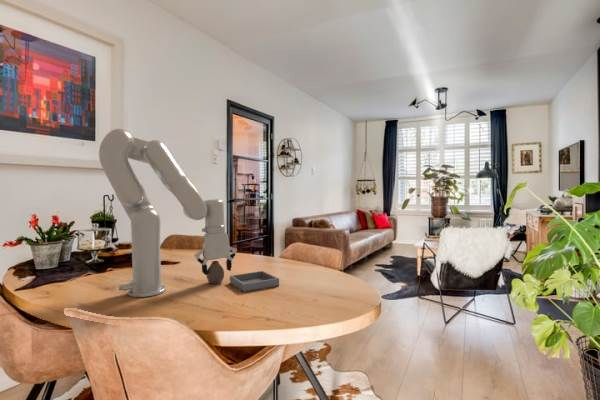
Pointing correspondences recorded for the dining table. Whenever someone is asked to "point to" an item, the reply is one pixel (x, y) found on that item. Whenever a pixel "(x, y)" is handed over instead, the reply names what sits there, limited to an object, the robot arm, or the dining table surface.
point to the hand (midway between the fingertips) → (217, 272)
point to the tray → (254, 281)
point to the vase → (215, 273)
